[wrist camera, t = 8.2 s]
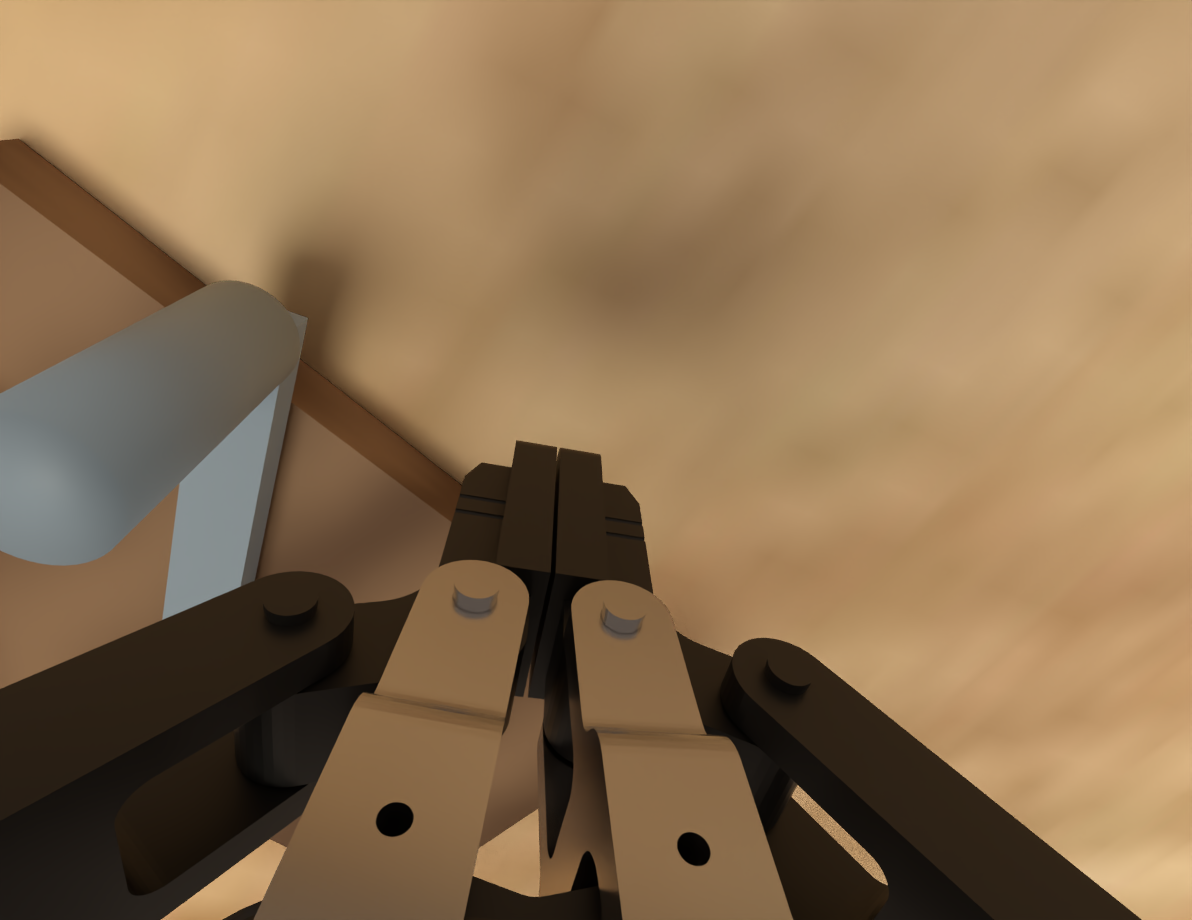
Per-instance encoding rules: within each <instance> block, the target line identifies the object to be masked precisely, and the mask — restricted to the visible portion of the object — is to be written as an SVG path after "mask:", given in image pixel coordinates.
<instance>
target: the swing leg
mask: <svg viewBox="0 0 1192 920" xmlns="http://www.w3.org/2000/svg"><path fill="white" fill-rule="evenodd" d="M307 321H308V318H307V317H304V316H301V315H298V314H296V313H293V312H290V311H287V310H286V308H285V307H284V306H283V305H282V304H281V303H280V302H279V301H278V300H277V299H276V298H274V297H273V296H272V295H270V294H269V293H268V292H266V291H264V290H262V289H261V288H259V287H256V286H254V285H251V284H248V283H245V282H239V281H219V282H215V283H212V284H209V285H207V286H205V287H203V288H201V289H199V290H197V291H195V292H194V293H192V294H190V295H188V296H186V297H184V298H182V299H180V300H178V301H176V302H174V303H173V304H171V305H169V306H167V307H165V308H163V309H161V310H159V311H157V312H155V313H153V314H151V315H150V316H148V317H146V318H144V319H142V320H140V321H138V322H136V323H134V324H132V325H130V326H129V327H127V328H125V329H123V330H121V331H119V332H117V333H115V334H113V335H111V336H109V337H107V338H106V339H104V340H102V341H100V342H98V343H96V344H94V345H92V346H90V347H88V348H86V349H84V350H83V351H81V352H79V353H77V354H75V355H73V356H71V357H69V358H67V359H65V360H63V361H62V362H60V363H58V364H56V365H54V366H52V367H50V368H48V369H46V370H44V371H42V372H40V373H39V374H37V375H35V376H33V377H31V378H29V379H27V380H25V381H23V382H21V383H19V384H18V385H16V386H14V387H12V388H10V389H8V390H6V391H4V392H2V393H0V550H1V551H3V552H5V553H7V554H10V555H12V556H15V557H17V558H21V559H24V560H27V561H31V562H36V563H40V564H47V565H62V566H66V565H77V564H82V563H87V562H90V561H93V560H96V559H98V558H100V557H102V556H104V555H105V554H107V553H108V552H109V551H111V550H112V549H113V548H114V547H115V546H116V545H117V544H118V543H119V542H120V541H121V540H122V539H123V538H124V537H125V536H126V535H127V534H128V533H129V532H130V531H131V530H132V529H133V528H134V527H135V526H136V525H137V524H138V523H139V522H140V521H141V520H142V519H143V518H145V517H146V516H147V515H148V514H149V513H150V512H151V511H152V510H153V509H154V508H155V507H156V506H157V505H158V504H159V503H160V502H161V501H162V500H163V499H164V498H165V497H166V496H167V495H168V494H169V493H170V492H171V491H172V490H173V489H174V488H175V487H176V486H177V485H178V484H179V483H180V484H179V492H178V500H177V508H176V515H175V523H174V531H173V539H172V547H171V555H170V563H169V571H168V579H167V586H166V594H165V602H164V610H163V618H162V620H163V619H165V618H168V617H170V616H173V615H175V614H177V613H180V612H182V611H184V610H187V609H189V608H191V607H194V606H196V605H198V604H201V603H203V602H205V601H208V600H210V599H212V598H215V597H217V596H219V595H222V594H224V593H227V592H229V591H231V590H234V589H236V588H238V587H241V586H243V585H245V584H248V583H250V582H252V581H255V577H256V572H257V567H258V562H259V557H260V552H261V547H262V542H263V537H264V533H265V528H266V523H267V518H268V513H269V508H270V503H271V498H272V493H273V488H274V483H275V479H276V474H277V469H278V464H279V459H280V454H281V449H282V444H283V439H284V434H285V429H286V425H287V420H288V415H289V410H290V405H291V400H292V395H293V390H294V385H295V380H296V375H297V371H298V366H299V361H300V356H301V351H302V346H303V341H304V336H305V331H306V326H307Z"/></svg>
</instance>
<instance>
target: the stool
mask: <svg viewBox="0 0 1192 920" xmlns="http://www.w3.org/2000/svg"><path fill="white" fill-rule="evenodd" d="M205 286H206V285H205V284H203V283H202V282H201V281H199V280H198V279H197V278H196V277H194V276H193V275H192V274H190V273H189V272H188V271H187V270H185V269H184V268H183V267H182V266H180V265H179V264H178V263H176V262H175V261H174V260H173V259H171V258H170V257H169V256H167V255H166V254H165V253H164V252H162V251H161V250H160V249H159V248H157V247H156V246H155V245H153V244H152V243H151V242H150V241H148V240H147V239H146V238H144V237H143V236H142V235H141V234H139V233H138V232H137V231H135V230H134V229H133V228H132V227H130V226H129V225H128V224H127V223H125V222H124V221H123V220H121V219H120V218H119V217H118V216H116V215H115V214H114V213H112V212H111V211H110V210H109V209H107V208H106V207H105V206H103V205H102V204H101V203H100V202H98V201H97V200H96V199H95V198H93V197H92V196H91V195H89V194H88V193H87V192H86V191H84V190H83V189H82V188H80V187H79V186H78V185H77V184H75V183H74V182H73V181H72V180H70V179H69V178H68V177H66V176H65V175H64V174H63V173H61V172H60V171H59V170H57V169H56V168H55V167H54V166H52V165H51V164H50V163H48V162H47V161H46V160H45V159H43V158H42V157H41V156H40V155H38V154H37V153H36V152H34V151H33V150H32V149H31V148H29V147H28V146H27V145H25V144H24V143H23V142H22V141H20V140H19V139H13V140H1V141H0V393H2V392H4V391H6V390H8V389H10V388H12V387H14V386H16V385H18V384H19V383H21V382H23V381H25V380H27V379H29V378H31V377H33V376H35V375H37V374H39V373H40V372H42V371H44V370H46V369H48V368H50V367H52V366H54V365H56V364H58V363H60V362H62V361H63V360H65V359H67V358H69V357H71V356H73V355H75V354H77V353H79V352H81V351H83V350H84V349H86V348H88V347H90V346H92V345H94V344H96V343H98V342H100V341H102V340H104V339H106V338H107V337H109V336H111V335H113V334H115V333H117V332H119V331H121V330H123V329H125V328H127V327H129V326H130V325H132V324H134V323H136V322H138V321H140V320H142V319H144V318H146V317H148V316H150V315H151V314H153V313H155V312H157V311H159V310H161V309H163V308H165V307H167V306H169V305H171V304H173V303H174V302H176V301H178V300H180V299H182V298H184V297H186V296H188V295H190V294H192V293H194V292H195V291H197V290H199V289H201V288H203V287H205ZM179 484H180V483H179ZM179 484H178V485H177V486H176V487H175V488H174V489H173V490H172V491H171V492H170V493H169V494H168V495H167V496H166V497H165V498H164V499H163V500H162V501H161V502H160V503H159V504H158V505H157V506H156V507H155V508H154V509H153V510H152V511H151V512H150V513H149V514H148V515H147V516H146V517H145V518H143V519H142V520H141V521H140V522H139V523H138V524H137V525H136V526H135V527H134V528H133V529H132V530H131V531H130V532H129V533H128V534H127V535H126V536H125V537H124V538H123V539H122V540H121V541H120V542H119V543H118V544H117V545H116V546H115V547H114V548H113V549H112V550H111V551H109V552H108V553H107V554H105V555H104V556H102V557H100V558H98V559H96V560H93V561H90V562H87V563H82V564H77V565H66V566H62V565H47V564H40V563H36V562H31V561H27V560H24V559H21V558H17V557H15V556H12V555H10V554H7V553H5V552H3V551H1V550H0V689H1V688H3V687H6V686H8V685H11V684H13V683H15V682H18V681H20V680H22V679H25V678H27V677H29V676H32V675H34V674H36V673H39V672H41V671H43V670H46V669H48V668H50V667H53V666H55V665H57V664H60V663H62V662H65V661H67V660H69V659H72V658H74V657H76V656H79V655H81V654H83V653H86V652H88V651H90V650H93V649H95V648H97V647H100V646H102V645H104V644H107V643H109V642H111V641H114V640H116V639H119V638H121V637H123V636H126V635H128V634H130V633H133V632H135V631H137V630H140V629H142V628H144V627H147V626H149V625H151V624H154V623H156V622H158V621H161V620H162V618H163V610H164V602H165V594H166V586H167V579H168V571H169V563H170V555H171V547H172V539H173V531H174V523H175V515H176V508H177V500H178V492H179ZM461 488H462V485H460V484H459V483H458V482H457V481H455V480H454V479H453V478H451V477H450V476H449V475H448V474H446V473H445V472H444V471H443V470H441V469H440V468H439V467H437V466H436V465H435V464H434V463H432V462H431V461H430V460H428V459H427V458H426V457H425V456H423V455H422V454H421V453H420V452H418V451H417V450H416V449H414V448H413V447H412V446H411V445H409V444H408V443H407V442H405V441H404V440H403V439H402V438H400V437H399V436H398V435H396V434H395V433H394V432H393V431H391V430H390V429H389V428H388V427H386V426H385V425H384V424H382V423H381V422H380V421H379V420H377V419H376V418H375V417H373V416H372V415H371V414H370V413H368V412H367V411H366V410H364V409H363V408H362V407H361V406H359V405H358V404H357V403H356V402H354V401H353V400H352V399H350V398H349V397H348V396H347V395H345V394H344V393H343V392H341V391H340V390H339V389H338V388H336V387H335V386H334V385H333V384H331V383H330V382H329V381H327V380H326V379H325V378H324V377H322V376H321V375H320V374H318V373H317V372H316V371H315V370H313V369H312V368H311V367H309V366H308V365H307V364H306V363H304V362H303V361H302V360H301V359H300V361H299V366H298V371H297V375H296V380H295V385H294V390H293V395H292V400H291V405H290V410H289V415H288V420H287V425H286V429H285V434H284V439H283V444H282V449H281V454H280V459H279V464H278V469H277V474H276V479H275V483H274V488H273V493H272V498H271V503H270V508H269V513H268V518H267V523H266V528H265V533H264V537H263V542H262V547H261V552H260V557H259V562H258V567H257V572H256V577H255V580H257V579H260V578H262V577H265V576H268V575H272V574H276V573H282V572H291V571H305V572H314V573H319V574H323V575H326V576H329V577H331V578H333V579H335V580H337V581H339V582H340V583H342V584H343V585H344V586H345V587H346V588H347V589H348V590H349V591H350V593H351V595H352V597H353V600H354V604H356V603H366V602H377V601H386V600H392V599H396V598H400V597H404V596H406V595H409V594H412V593H414V592H416V591H418V590H419V589H420V588H421V586H422V583H423V582H424V580H425V578H426V577H427V576H428V575H429V574H430V573H431V572H432V571H434V570H435V569H436V568H438V567H439V564H440V561H441V557H442V554H443V550H444V547H445V543H446V540H447V536H448V533H449V530H450V526H451V523H452V519H453V516H454V512H455V509H456V505H457V502H458V498H459V496H460V491H461ZM529 676H530V669H529V673H528V678H527V682H526V687H525V691H524V696H523V697H518V696H514V701H513V706H512V711H511V715H510V720H509V724H508V727H507V729H506V731H505V732H504V734H503V735H502V736H501V741H500V746H499V751H498V755H497V760H496V765H495V770H494V775H493V780H492V785H491V789H490V794H489V799H488V804H487V809H486V814H485V819H484V823H483V828H482V833H481V838H480V843H479V847H481V846H482V845H484V844H485V843H487V842H488V841H490V840H491V839H493V838H494V837H496V836H497V835H499V834H500V833H502V832H503V831H505V830H506V829H508V828H509V827H511V826H512V825H514V824H515V823H517V822H518V821H520V820H521V819H523V818H524V817H526V816H527V815H529V814H530V813H532V812H533V811H535V810H536V809H538V772H537V743H538V739H539V735H540V730H541V726H542V722H543V718H544V699H537V698H528V688H529ZM301 816H302V815H301ZM301 816H300V817H298V818H297V819H296V820H294V821H293V822H292V823H290V824H289V825H288V826H286V827H285V828H284V829H282V830H281V831H279V832H278V833H277V834H275V835H274V836H273V837H271V838H270V839H271V840H273V841H275V842H277V843H279V844H281V845H283V846H285V847H287V846H288V844H289V842H290V840H291V838H292V836H293V833H294V831H295V829H296V827H297V825H298V823H299V821H300V818H301Z"/></svg>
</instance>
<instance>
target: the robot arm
mask: <svg viewBox="0 0 1192 920" xmlns="http://www.w3.org/2000/svg"><path fill="white" fill-rule="evenodd" d="M556 458H557V461H556ZM529 669H530V676H529V688H528V698H537V699H544V718H543V722H542V726H541V730H540V735H539V739H538V743H537V772H538V808H539V845H540V889H539V897H528V896H525V895H521V894H519V893H516V892H513V891H511V890H508V889H505V888H503V887H500V886H497V885H495V884H492V883H490V882H487V881H484V880H482V879H479V878H476V877H474V876H473V872H474V867H475V862H476V857H477V853H478V848H479V843H480V838H481V833H482V828H483V823H484V819H485V814H486V809H487V804H488V799H489V794H490V789H491V785H492V780H493V775H494V770H495V765H496V760H497V755H498V751H499V746H500V741H501V736H502V735H503V734H504V732H505V731H506V729H507V727H508V724H509V720H510V715H511V711H512V706H513V701H514V696H518V697H523V696H524V691H525V687H526V682H527V678H528V673H529ZM797 785H799V786H800V787H801V788H802V789H803V790H804V791H805V792H806V793H807V794H808V795H809V796H810V797H811V798H812V799H813V800H814V801H815V802H816V803H817V804H818V805H819V806H820V807H821V808H823V809H824V810H825V811H826V812H827V813H828V814H829V815H830V816H831V817H832V818H833V819H834V820H835V821H836V822H837V823H838V824H839V825H840V826H841V827H842V828H843V829H844V830H845V831H846V832H847V833H848V834H850V835H851V836H852V837H853V838H854V839H855V840H856V841H857V842H858V843H859V844H860V845H861V846H862V847H863V848H864V849H865V850H866V851H867V852H868V853H869V854H870V855H871V856H872V857H873V858H874V859H875V860H876V862H877V863H878V864H879V866H880V867H881V869H882V871H883V873H884V875H885V877H886V880H887V883H888V886H887V885H885V884H883V883H881V882H879V881H878V880H876V879H875V878H873V877H872V876H871V875H870V874H869V873H868V872H867V871H866V870H865V869H864V868H863V867H862V866H861V865H860V864H859V863H858V862H857V861H856V860H855V859H854V858H853V857H852V856H851V855H850V854H849V853H848V852H847V851H846V850H845V849H844V848H843V847H842V846H841V845H840V844H839V843H838V842H837V841H835V840H834V839H833V838H832V837H831V836H830V835H829V834H828V833H827V832H826V831H825V830H824V829H823V828H822V827H821V826H820V825H819V824H818V823H817V822H816V821H815V820H814V819H813V818H812V817H811V816H810V815H809V814H808V813H807V812H806V811H805V810H804V809H803V808H802V807H801V806H800V805H799V804H798V803H797V802H796V801H795V800H794V799H793V798H792V797H791V796H792V794H793V792H794V790H795V788H796V786H797ZM301 815H302V816H301ZM300 816H301V818H300V821H299V823H298V825H297V827H296V829H295V831H294V833H293V836H292V838H291V840H290V842H289V844H288V846H287V849H286V851H285V853H284V855H283V857H282V859H281V861H280V864H279V866H278V868H277V870H276V872H275V874H274V877H273V879H272V881H271V883H270V885H269V887H268V889H267V892H266V894H265V896H264V898H263V900H262V901H260V902H258V903H255V904H253V905H251V906H248V907H246V908H243V909H241V910H239V911H237V912H236V913H234V914H232V915H230V916H228V917H226V918H225V919H223V920H1141V919H1140V918H1139V917H1138V916H1136V915H1135V914H1134V913H1133V912H1131V911H1130V910H1129V909H1128V908H1126V907H1125V906H1124V905H1123V904H1121V903H1120V902H1119V901H1118V900H1116V899H1115V898H1114V897H1113V896H1111V895H1110V894H1109V893H1108V892H1106V891H1105V890H1104V889H1103V888H1101V887H1100V886H1099V885H1098V884H1096V883H1095V882H1094V881H1093V880H1091V879H1090V878H1089V877H1088V876H1086V875H1085V874H1084V873H1083V872H1081V871H1080V870H1079V869H1078V868H1076V867H1075V866H1074V865H1073V864H1071V863H1070V862H1069V861H1068V860H1066V859H1065V858H1064V857H1063V856H1062V855H1060V854H1059V853H1058V852H1057V851H1055V850H1054V849H1053V848H1052V847H1050V846H1049V845H1048V844H1047V843H1045V842H1044V841H1043V840H1042V839H1040V838H1039V837H1038V836H1037V835H1035V834H1034V833H1033V832H1032V831H1030V830H1029V829H1028V828H1027V827H1025V826H1024V825H1023V824H1022V823H1020V822H1019V821H1018V820H1017V819H1015V818H1014V817H1013V816H1012V815H1010V814H1009V813H1008V812H1007V811H1005V810H1004V809H1003V808H1002V807H1000V806H999V805H998V804H997V803H995V802H994V801H993V800H992V799H990V798H989V797H988V796H987V795H985V794H984V793H983V792H982V791H980V790H979V789H978V788H977V787H975V786H974V785H973V784H972V783H971V782H969V781H968V780H967V779H966V778H964V777H963V776H962V775H961V774H959V773H958V772H957V771H956V770H954V769H953V768H952V767H951V766H949V765H948V764H947V763H946V762H944V761H943V760H942V759H941V758H939V757H938V756H937V755H936V754H934V753H933V752H932V751H931V750H929V749H928V748H927V747H926V746H924V745H923V744H922V743H921V742H919V741H918V740H917V739H916V738H914V737H913V736H912V735H911V734H909V733H908V732H907V731H906V730H904V729H903V728H902V727H901V726H899V725H898V724H897V723H896V722H894V721H893V720H892V719H891V718H889V717H888V716H887V715H886V714H884V713H883V712H882V711H881V710H880V709H878V708H877V707H876V706H875V705H873V704H872V703H871V702H870V701H868V700H867V699H866V698H865V697H863V696H862V695H861V694H860V693H858V692H857V691H856V690H855V689H853V688H852V687H851V686H850V685H848V684H847V683H846V682H845V681H843V680H842V679H841V678H840V677H838V676H837V675H836V674H835V673H833V672H832V671H831V670H830V669H828V668H827V667H826V666H825V665H823V664H822V663H821V662H820V661H818V660H817V659H816V658H815V657H813V656H812V655H810V654H809V653H808V652H806V651H804V650H802V649H801V648H799V647H797V646H795V645H792V644H790V643H787V642H784V641H781V640H776V639H770V638H756V639H751V640H748V641H746V642H744V643H742V644H741V645H739V646H738V648H737V649H736V650H735V652H734V655H733V657H731V656H729V655H726V654H723V653H721V652H718V651H716V650H713V649H711V648H708V647H705V646H703V645H700V644H698V643H696V642H694V641H692V640H690V639H688V638H686V637H685V636H683V635H682V634H680V633H679V632H677V631H676V629H675V626H674V622H673V619H672V616H671V614H670V612H669V610H668V609H667V607H666V606H665V605H664V604H663V602H662V601H661V600H659V599H658V598H657V597H656V596H655V595H653V589H652V583H651V577H650V570H649V564H648V557H647V551H646V544H645V542H644V531H643V526H642V519H641V512H640V506H639V503H638V502H637V501H636V499H635V498H634V497H633V495H632V494H631V493H630V492H629V490H628V489H627V488H626V487H625V486H621V485H615V484H609V483H603V480H602V466H601V455H600V454H595V453H589V452H583V451H577V450H571V449H565V448H560V449H559V452H558V456H557V447H553V446H547V445H541V444H535V443H529V442H523V441H518V440H516V446H515V452H514V458H513V464H512V468H511V467H505V466H499V465H493V464H487V463H480V464H479V465H478V466H477V467H475V468H474V469H473V470H472V471H470V472H469V473H468V474H467V475H465V478H464V481H463V484H462V488H461V491H460V496H459V498H458V502H457V505H456V509H455V512H454V516H453V519H452V523H451V526H450V530H449V533H448V536H447V540H446V543H445V547H444V550H443V554H442V557H441V561H440V564H439V567H438V568H436V569H435V570H434V571H432V572H431V573H430V574H429V575H428V576H427V577H426V578H425V580H424V582H423V583H422V586H421V588H420V589H419V590H418V591H416V592H414V593H412V594H409V595H406V596H404V597H400V598H396V599H392V600H386V601H377V602H366V603H356V604H354V600H353V597H352V595H351V593H350V591H349V590H348V589H347V588H346V587H345V586H344V585H343V584H342V583H340V582H339V581H337V580H335V579H333V578H331V577H329V576H326V575H323V574H319V573H314V572H305V571H291V572H282V573H276V574H272V575H268V576H265V577H262V578H260V579H257V580H255V581H252V582H250V583H248V584H245V585H243V586H241V587H238V588H236V589H234V590H231V591H229V592H227V593H224V594H222V595H219V596H217V597H215V598H212V599H210V600H208V601H205V602H203V603H201V604H198V605H196V606H194V607H191V608H189V609H187V610H184V611H182V612H180V613H177V614H175V615H173V616H170V617H168V618H165V619H163V620H161V621H158V622H156V623H154V624H151V625H149V626H147V627H144V628H142V629H140V630H137V631H135V632H133V633H130V634H128V635H126V636H123V637H121V638H119V639H116V640H114V641H111V642H109V643H107V644H104V645H102V646H100V647H97V648H95V649H93V650H90V651H88V652H86V653H83V654H81V655H79V656H76V657H74V658H72V659H69V660H67V661H65V662H62V663H60V664H57V665H55V666H53V667H50V668H48V669H46V670H43V671H41V672H39V673H36V674H34V675H32V676H29V677H27V678H25V679H22V680H20V681H18V682H15V683H13V684H11V685H8V686H6V687H3V688H1V689H0V920H161V919H162V918H164V917H165V916H166V915H168V914H169V913H170V912H172V911H173V910H174V909H176V908H177V907H178V906H180V905H181V904H183V903H184V902H185V901H187V900H188V899H189V898H191V897H192V896H193V895H195V894H196V893H197V892H199V891H200V890H201V889H203V888H204V887H205V886H207V885H208V884H209V883H211V882H212V881H213V880H215V879H216V878H218V877H219V876H220V875H222V874H223V873H224V872H226V871H227V870H228V869H230V868H231V867H232V866H234V865H235V864H236V863H238V862H239V861H240V860H242V859H243V858H244V857H246V856H247V855H248V854H250V853H251V852H253V851H254V850H255V849H257V848H258V847H259V846H261V845H262V844H263V843H265V842H266V841H267V840H269V839H270V838H271V837H273V836H274V835H275V834H277V833H278V832H279V831H281V830H282V829H284V828H285V827H286V826H288V825H289V824H290V823H292V822H293V821H294V820H296V819H297V818H298V817H300Z"/></svg>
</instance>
